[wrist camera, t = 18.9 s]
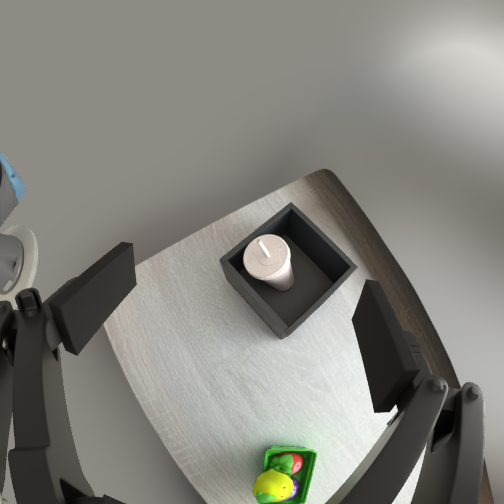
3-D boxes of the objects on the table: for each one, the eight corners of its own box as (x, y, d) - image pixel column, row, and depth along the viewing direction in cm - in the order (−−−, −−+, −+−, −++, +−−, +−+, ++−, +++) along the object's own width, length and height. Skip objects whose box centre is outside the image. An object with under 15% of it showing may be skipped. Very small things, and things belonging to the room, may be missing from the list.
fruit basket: (300, 493, 32) (311, 525, 22) (248, 490, 33) (247, 524, 22) (311, 440, 36) (328, 464, 26) (257, 437, 37) (258, 462, 26)
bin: (226, 278, 46) (218, 259, 37) (284, 230, 49) (291, 201, 40) (281, 339, 42) (288, 336, 33) (338, 284, 46) (358, 267, 36)
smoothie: (289, 305, 42) (262, 272, 30) (257, 288, 45) (220, 252, 34) (309, 270, 44) (290, 225, 32) (276, 256, 47) (247, 210, 35)
